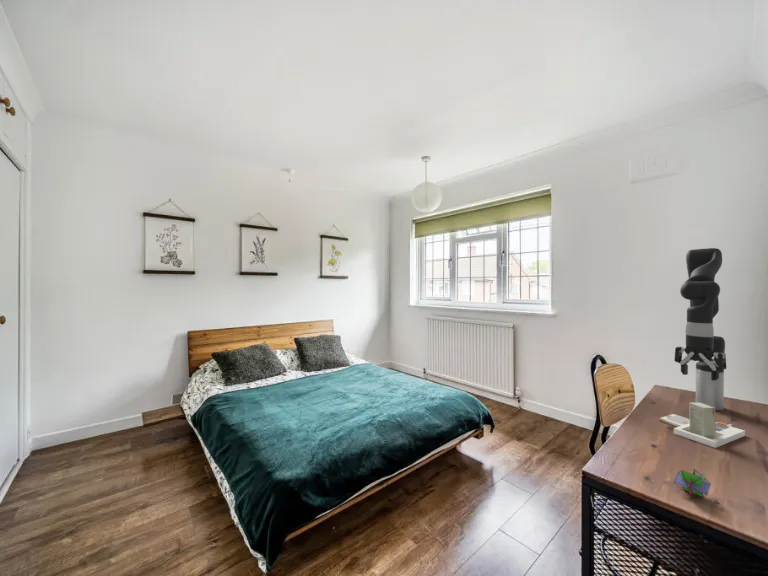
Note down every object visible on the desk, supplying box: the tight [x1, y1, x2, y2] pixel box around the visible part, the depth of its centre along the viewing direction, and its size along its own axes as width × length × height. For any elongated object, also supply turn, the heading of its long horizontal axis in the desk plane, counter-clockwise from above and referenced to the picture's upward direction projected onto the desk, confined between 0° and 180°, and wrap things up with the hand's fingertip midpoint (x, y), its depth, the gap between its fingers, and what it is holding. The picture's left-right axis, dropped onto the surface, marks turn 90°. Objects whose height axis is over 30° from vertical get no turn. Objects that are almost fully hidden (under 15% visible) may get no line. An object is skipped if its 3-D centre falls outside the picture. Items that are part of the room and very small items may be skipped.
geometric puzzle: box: [673, 468, 712, 499], centre depth 89 cm, size 7×7×8 cm
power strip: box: [673, 421, 746, 449], centre depth 125 cm, size 28×12×3 cm, turn 114°
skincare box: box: [688, 401, 717, 439], centre depth 122 cm, size 6×4×12 cm
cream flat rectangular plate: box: [658, 413, 690, 427], centre depth 135 cm, size 11×8×1 cm
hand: (699, 377), depth 122 cm, fingers open, 8 cm apart
